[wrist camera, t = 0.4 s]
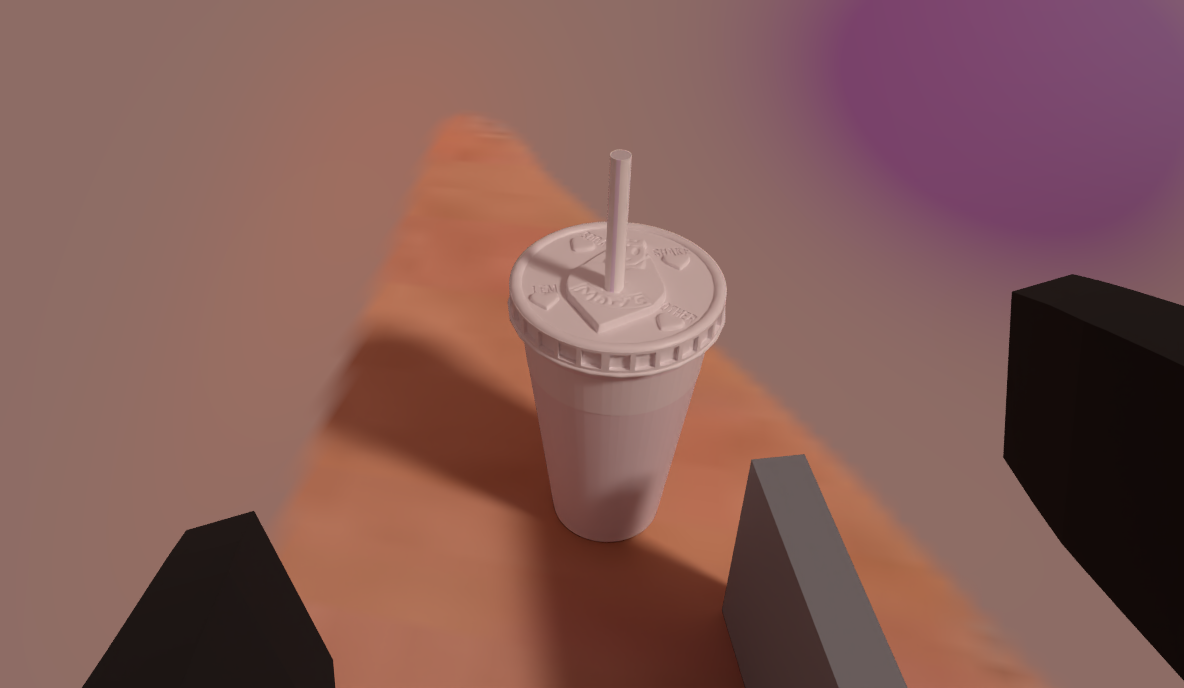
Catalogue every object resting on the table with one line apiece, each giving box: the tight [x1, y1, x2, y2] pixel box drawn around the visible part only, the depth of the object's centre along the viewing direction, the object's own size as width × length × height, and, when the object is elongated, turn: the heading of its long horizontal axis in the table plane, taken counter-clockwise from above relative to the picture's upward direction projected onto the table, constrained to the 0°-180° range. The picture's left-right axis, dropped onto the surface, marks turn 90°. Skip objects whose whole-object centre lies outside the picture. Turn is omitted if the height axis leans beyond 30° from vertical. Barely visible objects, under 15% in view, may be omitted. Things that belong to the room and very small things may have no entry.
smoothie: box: [508, 150, 727, 542], centre depth 30 cm, size 6×6×14 cm
